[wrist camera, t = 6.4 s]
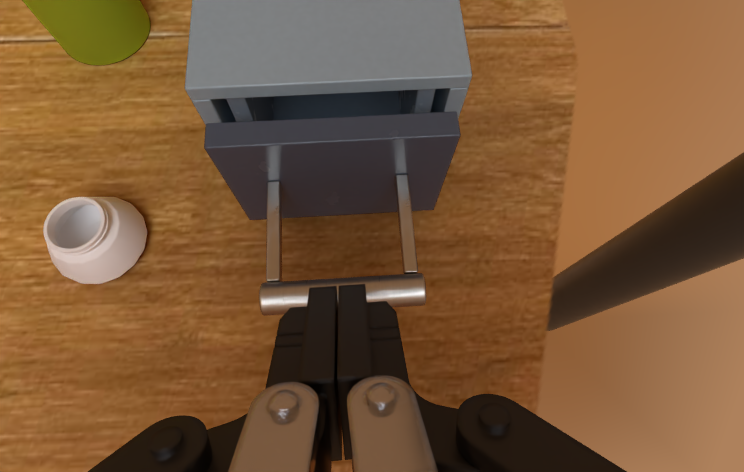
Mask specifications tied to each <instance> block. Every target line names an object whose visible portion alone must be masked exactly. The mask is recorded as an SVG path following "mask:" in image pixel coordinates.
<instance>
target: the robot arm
mask: <svg viewBox="0 0 744 472" xmlns="http://www.w3.org/2000/svg"><path fill="white" fill-rule="evenodd" d="M342 434H343V445H344V455H345V460H348V459H352V469H353V472H626V471H625V470H623V469H622V468H620V467H618V466H617V465H615V464H614V463H612V462H610V461H609V460H607V459H605V458H604V457H602V456H601V455H599V454H597V453H596V452H594V451H593V450H591V449H590V448H588V447H586V446H585V445H583V444H582V443H580V442H578V441H577V440H575V439H573V438H572V437H570V436H569V435H567V434H566V433H564V432H562V431H561V430H559V429H557V428H556V427H554V426H553V425H551V424H550V423H548V422H546V421H545V420H543V419H542V418H540V417H538V416H537V415H535V414H534V413H532V412H530V411H529V410H527V409H526V408H524V407H522V406H521V405H519V404H518V403H516V402H514V401H512V400H511V399H508V398H506V397H503V396H499V395H494V394H481V395H476V396H473V397H471V398H469V399H467V400H466V401H464V402H463V403H462V404H461V406H460V407H459V409H455V408H450V407H445V406H440V405H436V404H433V403H431V402H429V401H427V400H425V399H423V398H422V397H420V396H419V395H418V394H417V393H416V392H415V391H414V390H413V388H412V387H411V385H410V383H409V379H408V374H407V369H406V363H405V358H404V352H403V347H402V341H401V337H400V331H399V326H398V320H397V314H396V311H395V310H394V309H393V308H392V307H391V306H390V305H389V304H388V303H387V301H379V302H367V298H366V286H365V284H356V285H341V286H339V290H338V293H337V286H327V287H311V288H309V293H308V302H307V306H306V307H291V308H289V310H288V311H287V312H286V313H285V314H284V316H283V317H282V318H281V319H280V321H279V326H278V331H277V336H276V341H275V348H274V350H273V355H272V360H271V365H270V369H269V374H268V379H267V384H266V389H265V390H263V391H262V392H261V393H260V394H258V395H257V396H256V398H255V399H254V400H253V402H252V403H251V405H250V408H249V411H248V413H247V414H246V415H244V416H242V417H240V418H239V419H237V420H234V421H232V422H229V423H226V424H223V425H220V426H217V427H214V428H211V429H208V430H206V427H205V425H204V424H203V422H201V421H200V420H199V419H197V418H195V417H192V416H174V417H170V418H166V419H163V420H161V421H159V422H157V423H155V424H153V425H151V426H150V427H148V428H147V429H145V430H144V431H143V432H141V433H140V434H138V435H137V436H136V437H134V438H133V439H132V440H130V441H129V442H128V443H126V444H125V445H123V446H122V447H121V448H119V449H118V450H117V451H115V452H114V453H113V454H111V455H110V456H108V457H107V458H106V459H104V460H103V461H102V462H100V463H99V464H98V465H96V466H95V467H93V468H92V469H91V470H89V471H88V472H331V461H338V460H342Z"/></svg>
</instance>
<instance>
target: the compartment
mask: <svg viewBox="0 0 744 472" xmlns="http://www.w3.org/2000/svg"><path fill="white" fill-rule="evenodd" d="M435 90H436V89H425V90H403V91H382V92H360V93H339V94H317V95H295V96H274V97H252V98H231V99H226V100H227V102H228V104H229V106H230V109H231V111H232V113H233V115H234V117H235V120H236V122H226V123H207V124H206V129H205V144H204V148H205V150H206V151H207V153H208V155H209V156H210V158H211V159H212V161H213V162H214V164H215V166H216V167H217V169H218V170H219V172H220V173H221V175H222V177H223V178H224V180H225V181H226V183H227V185H228V186H229V188H230V189H231V191H232V192H233V194H234V196H235V197H236V199H237V200H238V202H239V203H240V205H241V207H242V208H243V210H244V211H245V213H246V214H247V216H248V218H249V219H250V220H259V219H267V252H266V281H267V283H262V284H261V286H260V291H259V303H260V310H261V313H262V315H280V314H285V313H286V312H287V311H288V310H289V308H291V307H306V306H307V302H308V293H309V288H311V287H327V286H337V293H338V290H339V286H341V285H356V284H365V286H366V298H367V302H379V301H387V303H388V304H389V305H390V306H391V307H405V306H421V305H425V303H426V285H425V279H424V276H423V274H422V273H417V272H418V266H417V256H416V247H415V237H414V228H413V218H412V211H420V210H433V209H434V207H435V204H436V202H437V199H438V196H439V193H440V191H441V188H442V185H443V182H444V179H445V177H446V174H447V171H448V168H449V166H450V163H451V160H452V157H453V154H454V152H455V149H456V146H457V143H458V140H459V138H460V128H459V121H458V115H457V112H456V111H454V112H433V113H430V112H431V107H432V103H433V98H434V94H435ZM384 212H398V220H399V231H400V242H401V252H402V263H403V274H398V275H382V276H366V277H349V278H333V279H317V280H300V281H284V282H282V218H295V217H313V216H331V215H349V214H366V213H384Z"/></svg>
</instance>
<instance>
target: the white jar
mask: <svg viewBox="0 0 744 472" xmlns="http://www.w3.org/2000/svg"><path fill="white" fill-rule="evenodd" d="M43 232H44V238H45V241H46V243H47V247H48V250H49V253H50V256H51V259H52V262H53V264H54V265H55V266H56V267H57V269H58V270H59V271H60V272H61V274H62V275H63V276H66V277H68V278H70V279H72V280H75V281H77V282H79V283H82V284H102V283H105V282H107V281H110V280H113V279H116V278H118V277H120V276H121V275H123V274H124V273H125V272H126V271H128V270H129V269H130V268H131V267H132V266H134V265H135V263H136V262H137V260H138V258H139V257H140V255H141V254H142V252H143V250H144V248H145V243H146V237H147V229H146V225H145V221H144V217H143V216H142V215H141V214H140V213H139V212H138V210H137V209H136V208H135V207H134V206H133V205H132V204H131V203H129V202H126V201H124V200H121V199H119V198H117V197H74V198H70V199H67V200H65V201H63V202H61V203H59V204H58V205H57V206H55V207H54V208H53V209H52V210H51V212H50V213H49V214H48V216H47V218H46V220H45V223H44V228H43Z"/></svg>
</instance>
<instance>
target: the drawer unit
mask: <svg viewBox="0 0 744 472" xmlns="http://www.w3.org/2000/svg"><path fill="white" fill-rule="evenodd" d="M471 78H472V71H471V65H470V59H469V53H468V47H467V42H466V36H465V30H464V24H463V18H462V12H461V7H460V1H459V0H192V11H191V22H190V34H189V46H188V57H187V69H186V81H185V90H186V92H187V93H188V95H189V97H190V99H191V100H192V102H193V104H194V106H195V107H196V109H197V111H198V113H199V114H200V116H201V118H202V120H203V121H204V123H205V125H206V124H207V123H226V122H236V120H235V117H234V115H233V113H232V111H231V109H230V106H229V104H228V102H227V100H226V99H231V98H252V97H274V96H295V95H317V94H339V93H360V92H382V91H403V90H425V89H436V90H435V94H434V98H433V103H432V107H431V112H430V113H433V112H454V111H456V112H457V115H458V118H459V115H460V112H461V109H462V106H463V103H464V100H465V97H466V94H467V91H468V87H469V84H470V81H471Z"/></svg>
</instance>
